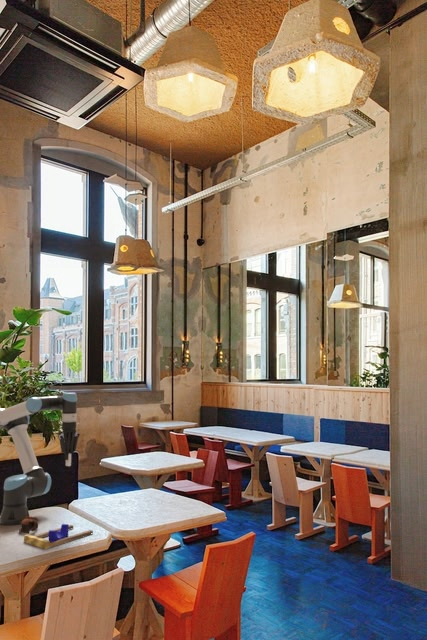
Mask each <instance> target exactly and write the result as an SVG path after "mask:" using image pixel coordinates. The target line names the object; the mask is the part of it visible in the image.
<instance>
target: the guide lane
mask: <svg viewBox="0 0 427 640" xmlns="http://www.w3.org/2000/svg"><path fill="white" fill-rule="evenodd" d="M71 528H73V529H74V525H73V524H69V529H70V530H72V529H71ZM53 530H54V531H56V533H57V531H59V530H61V527H59V528H55V529H53ZM49 531H50V530H49ZM49 531H45V532H41V533H39V534H34V535H32V534H30V533H29V534H24V535H23V543H26V544H30V545H32V546H36V547H38V548H42V549H45V550H47V549H51V548H54V547H57V546H59V545H62V544H66V543H69V542H72V541H75V540H78V539H81V538H84V537H87V536H90V535H92V534H91V533H93V534H94V530H92V529H88V530H85V531H82V532H79V533H76V534H73V535H70V536H69V535H68V537H66V538H63V539H60V540H57V541H54V542H50V541H49V539H48V540H47V539H45V538H46V537H49ZM89 534H90V535H89ZM86 535H87V536H86ZM83 536H84V537H83Z"/></svg>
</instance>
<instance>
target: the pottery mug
mask: <svg viewBox="0 0 427 640" xmlns="http://www.w3.org/2000/svg"><path fill="white" fill-rule="evenodd" d="M20 523H21V524H20V525H21V526H20V528H19V529H18V533H19V534H25V535H27V534H29V535H30V531H31V532H35V531H36V530H37V529H39V528H38V527H39V518H37V517H35V516H30V517H24V518H23V520H22V521H21V522H20Z"/></svg>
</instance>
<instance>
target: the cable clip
mask: <svg viewBox="0 0 427 640" xmlns="http://www.w3.org/2000/svg"><path fill="white" fill-rule="evenodd" d="M69 525H70V524H68V523H62V524H61V527H60V528H61V530H59V531H57V533H56V531H54V530H55V529H50V530H49V536H48V541H50V542H54V541H57V540H60V539H63V538H66V537H69V530H68V529H69Z"/></svg>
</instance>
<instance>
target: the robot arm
mask: <svg viewBox="0 0 427 640" xmlns="http://www.w3.org/2000/svg"><path fill="white" fill-rule="evenodd" d="M77 403H78V396H77V393H76V392H63V393H62V395H50V396H33V397H29V398H27V400H26V401H23V402H22V401H21V402H20V403H17V404H15V405H11V406H9V407H6V408H0V430H6V431H7V434H8V435H10V436H11V438H12V440H13V444H14V447H15V450H16V453H17V456H18V459H19V462H20V465H21V468H22V471H23V474H16V475H12V476H8V477H7V478H5V480H4V483H3V505H2V510H1V513H0V525H3V526H14V525H22V524H21V523H20V522H21V521H22V520H23V518H24V517H31V515H30V513H29V508H28V506H27V504H28V503H27V501H28V500H27V499H30V498H33V497H38V496H42V495H45V494H47V493H48V492H49V491H50V489H51V486H52V478H51V475H50V474H49V473H48V472H45V471H44V468H43V467H41V466H40V465H39V462H38V460H37V456H36V454H35V451H34V448H33V445H32V442H31V439H30V437H29V436H30V435H29V434H28V431H27V430H28V427H29V423H30V415H32V414H36V413H38V412H45V411H58V410H59V411H62V412H61V413H62V416H61V421H62V422H61V434H59V435H57V439H58V440H59V445H60V446H59V447H60V450H61V453H62V454H64V460H65V466H66V467H71V466H72V460H73V454H74V453H75V452H76V451H77V445H78V439H79V438H80V435H81V434H80V433H78V432H77V430H76V429H77V416H78V415H77V413H78V411H77V409H78V404H77Z"/></svg>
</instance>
